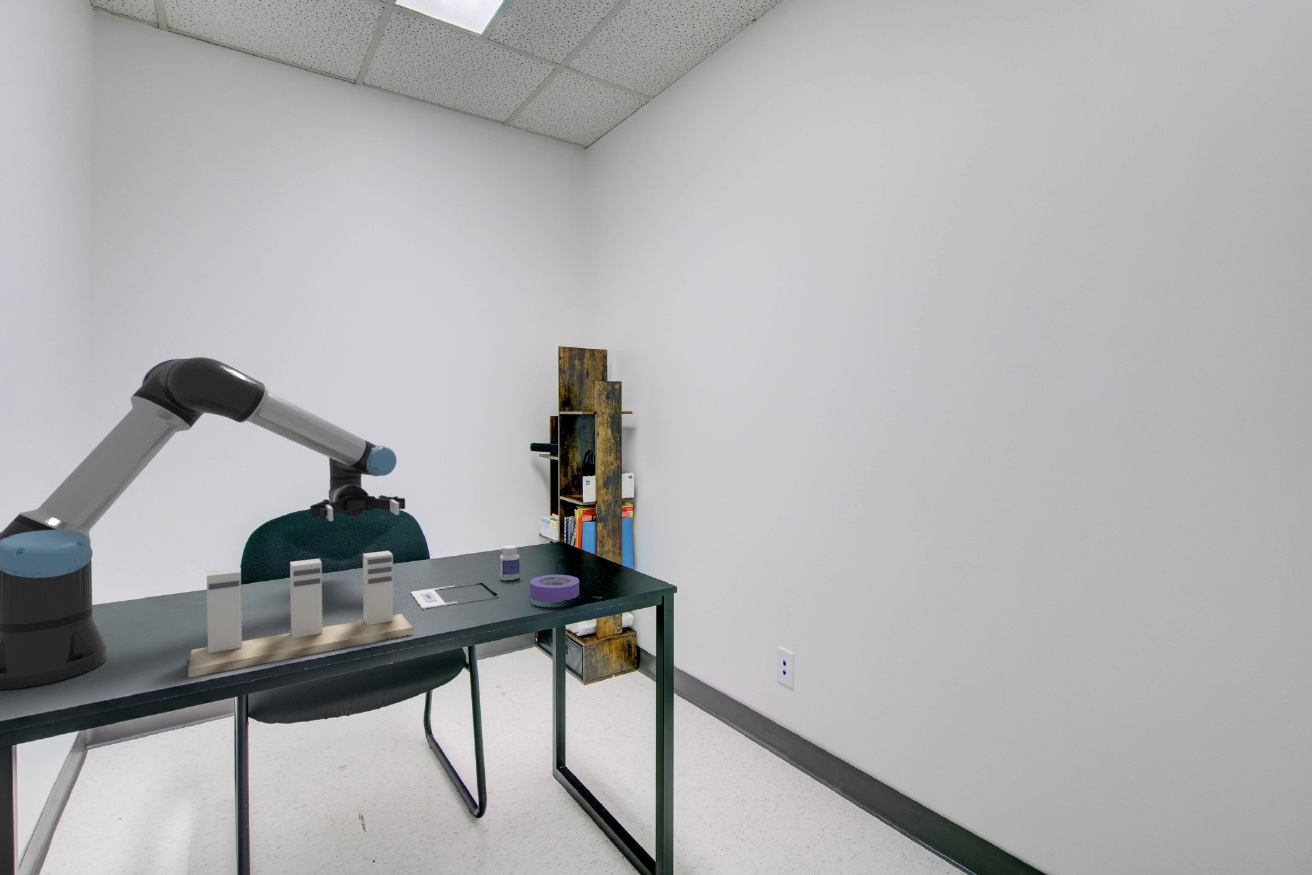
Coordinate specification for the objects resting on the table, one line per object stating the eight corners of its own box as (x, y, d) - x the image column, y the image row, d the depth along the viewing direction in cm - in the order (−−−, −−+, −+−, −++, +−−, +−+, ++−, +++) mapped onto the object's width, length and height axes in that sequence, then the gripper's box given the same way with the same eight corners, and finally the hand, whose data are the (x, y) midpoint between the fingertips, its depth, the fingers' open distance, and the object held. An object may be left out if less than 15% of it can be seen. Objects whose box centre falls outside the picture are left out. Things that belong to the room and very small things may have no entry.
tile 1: (207, 653, 107) (206, 576, 107) (208, 646, 110) (207, 571, 110) (241, 647, 110) (240, 572, 109) (241, 640, 113) (240, 567, 113)
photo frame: (410, 590, 150) (482, 580, 159) (410, 595, 150) (482, 585, 159) (422, 606, 137) (499, 594, 147) (422, 611, 137) (499, 599, 147)
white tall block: (292, 638, 114) (291, 566, 114) (291, 632, 118) (290, 561, 117) (322, 633, 117) (321, 562, 117) (319, 627, 121) (319, 558, 120)
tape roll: (570, 591, 153) (570, 572, 153) (586, 604, 143) (586, 583, 143) (524, 597, 148) (524, 577, 148) (537, 611, 138) (537, 589, 137)
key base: (188, 677, 101) (188, 669, 101) (191, 657, 109) (191, 649, 109) (412, 634, 122) (412, 627, 122) (401, 620, 130) (401, 613, 130)
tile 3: (367, 625, 122) (366, 557, 122) (363, 619, 125) (362, 553, 125) (393, 621, 125) (393, 554, 124) (389, 615, 128) (388, 550, 128)
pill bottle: (523, 579, 164) (523, 546, 164) (506, 582, 160) (506, 549, 160) (512, 575, 168) (512, 543, 167) (495, 579, 164) (495, 546, 163)
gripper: (403, 509, 160) (423, 522, 142) (294, 519, 146) (301, 534, 128) (403, 481, 160) (422, 491, 142) (293, 489, 145) (300, 500, 128)
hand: (365, 511), depth 135 cm, fingers open, 13 cm apart
